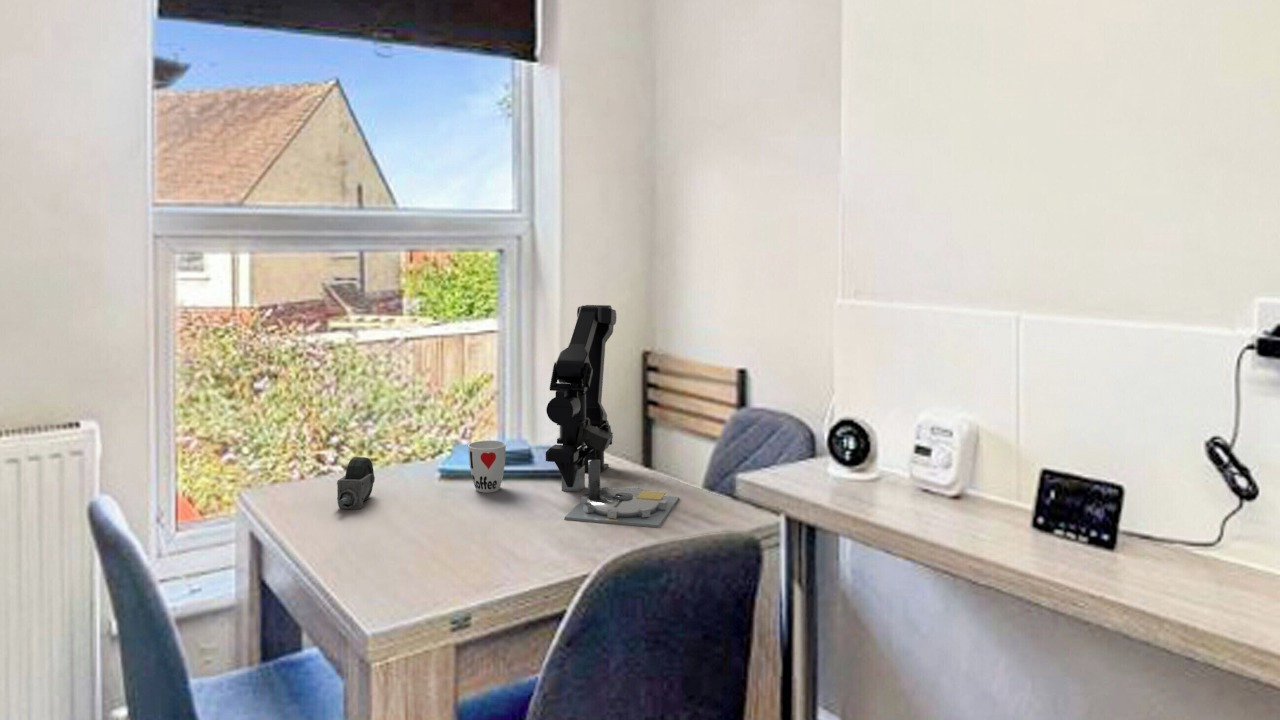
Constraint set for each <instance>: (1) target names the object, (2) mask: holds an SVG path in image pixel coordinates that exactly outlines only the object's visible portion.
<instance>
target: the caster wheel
mask: <svg viewBox="0 0 1280 720" xmlns="http://www.w3.org/2000/svg"><path fill="white" fill-rule="evenodd" d="M374 474H375V473H374V465H373V462H372V460H371V459H370V458H369V457H361V456H358V457H357V456H355V457H352V458H351V459H350V460H349V462H348V465H347V467H346V471H345V475H344V476H342V477H340V478H339V479H338V480H336V481H337V482H336V485H337V498H336V500H337V506H338V508H339V509H342V510H343V509H344V510H345V509H346V510H360V509H362V508H363V507H364V502H365V501H367V500H368V499H369V498H370V497H371V494H372V491H373V487H374V483H375V480H376V479H375V478H376V477H375V475H374Z"/></svg>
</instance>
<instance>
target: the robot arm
mask: <svg viewBox="0 0 1280 720" xmlns="http://www.w3.org/2000/svg"><path fill="white" fill-rule="evenodd" d="M576 311H577V312H576V316H577V317H576V318H577V319H576V320H575V321H576V322H575V324H574V328H573V331H572V333H571V337H570V340H569V342H568V346H567V347H565V348H564V349H563V350H562V351H560V353H559V354H558V357H557V359H556V361H555V362H554V364H553V368H552V373H551V378H550V379H551V380H550V385H549V391H553V392H555V396H554V397H553V398H551V400H549V401H548V404H547V405H546V409H545V410H546V415H547V417H548V418H549V420H550V421H551V422H553V423H554V424H556V425H557V426H559V437H558V438H557V439H556V444H554V445H552V446H551V447H549V448H548V449H547V450H546V451H545V461H546V462H549V463H550V462H551V463H554V464H555V465H556V467H557V469H558V470H559V472H560V474H561V478H562V477H563V479H564V481H565V483H566V485H567V487H573V482H574V476H575V468H576V465H585V472H587V473H588V460H589V459H600V473H602V472H604V470H606V469H607V468H609V463H605V451H606V450H607V449H609V447H610V446H611V445H613V438H614V435H613V434H614V433H613V432H612V428H611V427H612V426H611V425H610V423H609V420H608V414H607V412H606V410H605V408H604V406H603V404H602V394H603V386H604V385H603V384H604V383H603V382H604V370H605V369H604V368H605V356H606V343H607V341H609V339H610V338H611V336H612V335H613V332H614V326H615V325H616V324H617V311H616V309H613V307H612V305H610V304H609V305H608V304H607V305H606V304H603V305H602V304H585V305H583V304H582V305H581V306H578V307H577V310H576Z"/></svg>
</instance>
